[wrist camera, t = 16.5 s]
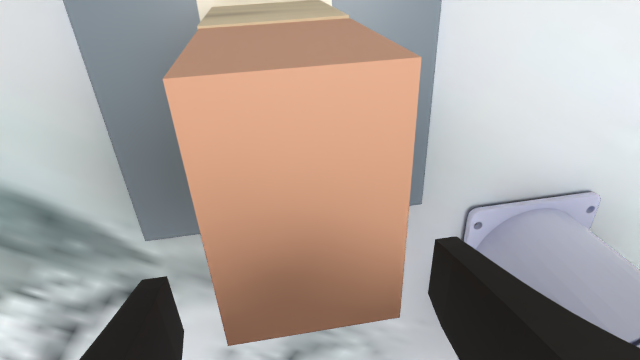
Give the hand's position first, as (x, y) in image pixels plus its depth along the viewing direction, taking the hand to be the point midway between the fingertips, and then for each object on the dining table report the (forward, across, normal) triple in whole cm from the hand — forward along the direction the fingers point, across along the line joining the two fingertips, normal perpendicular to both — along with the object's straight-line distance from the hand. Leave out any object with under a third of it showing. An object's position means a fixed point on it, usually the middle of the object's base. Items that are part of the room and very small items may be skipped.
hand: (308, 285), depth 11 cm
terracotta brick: (+3, 0, -3) cm, 5 cm away
